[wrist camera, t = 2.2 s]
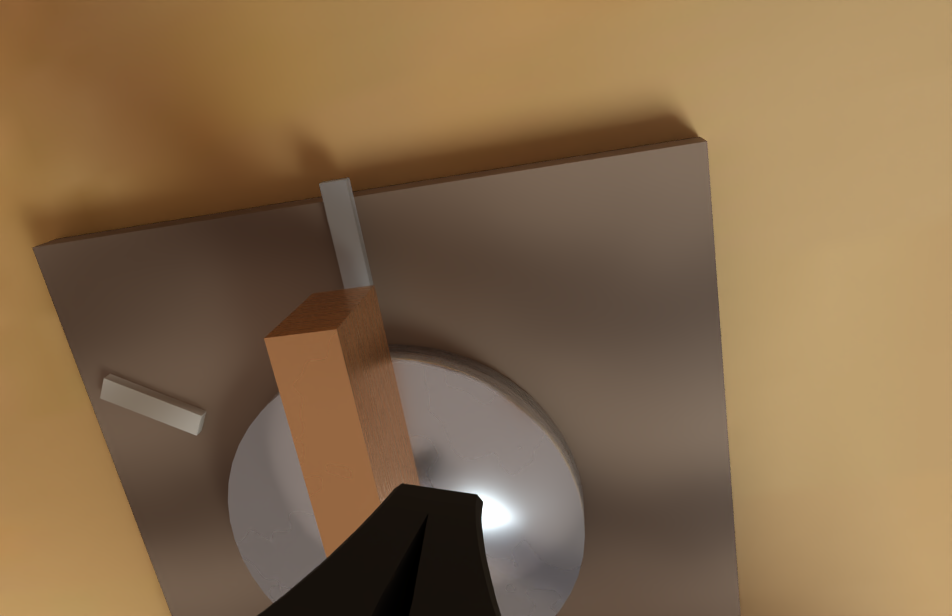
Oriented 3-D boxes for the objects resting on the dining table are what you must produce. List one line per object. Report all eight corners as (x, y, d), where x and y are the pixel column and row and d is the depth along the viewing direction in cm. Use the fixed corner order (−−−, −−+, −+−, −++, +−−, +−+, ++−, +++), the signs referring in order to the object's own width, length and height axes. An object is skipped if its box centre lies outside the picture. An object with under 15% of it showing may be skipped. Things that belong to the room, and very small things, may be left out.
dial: (603, 631, 21) (611, 768, 17) (293, 645, 23) (233, 772, 19) (547, 248, 18) (540, 307, 14) (183, 298, 19) (79, 364, 15)
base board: (740, 698, 23) (750, 734, 22) (230, 712, 26) (213, 744, 25) (698, 116, 17) (707, 120, 16) (50, 222, 20) (17, 232, 19)
